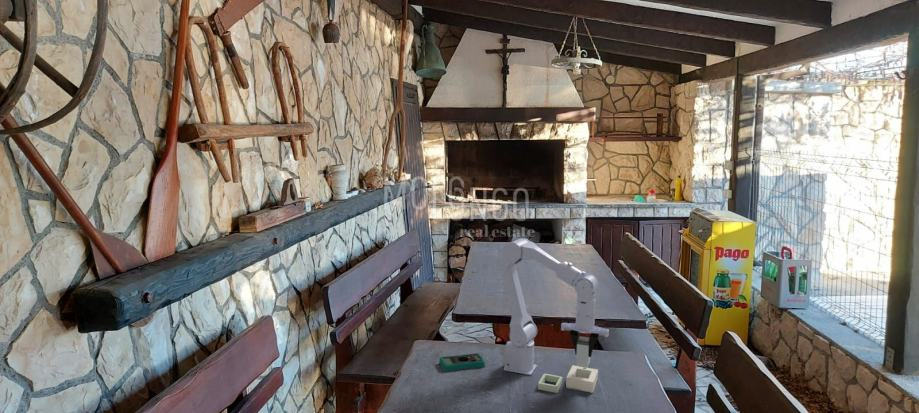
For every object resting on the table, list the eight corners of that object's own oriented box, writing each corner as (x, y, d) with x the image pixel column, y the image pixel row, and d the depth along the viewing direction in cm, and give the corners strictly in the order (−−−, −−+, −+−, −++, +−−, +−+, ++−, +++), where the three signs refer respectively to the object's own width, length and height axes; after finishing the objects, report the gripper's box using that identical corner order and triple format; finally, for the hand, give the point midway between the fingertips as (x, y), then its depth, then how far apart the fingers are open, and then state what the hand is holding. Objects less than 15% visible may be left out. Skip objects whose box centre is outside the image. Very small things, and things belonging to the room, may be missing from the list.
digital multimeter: (486, 368, 192) (486, 360, 191) (444, 373, 187) (444, 364, 187) (479, 359, 199) (479, 351, 198) (438, 364, 194) (438, 356, 194)
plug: (576, 365, 177) (577, 341, 176) (578, 359, 182) (580, 336, 181) (587, 367, 176) (588, 343, 175) (589, 361, 180) (591, 337, 179)
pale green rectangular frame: (537, 389, 176) (538, 383, 176) (543, 379, 183) (543, 373, 183) (557, 392, 174) (557, 386, 173) (562, 382, 181) (562, 376, 180)
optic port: (566, 387, 177) (566, 376, 176) (572, 375, 186) (572, 364, 185) (592, 393, 174) (593, 381, 173) (597, 379, 183) (598, 368, 182)
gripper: (559, 314, 176) (558, 355, 178) (607, 320, 170) (605, 363, 172) (564, 307, 182) (562, 347, 184) (610, 313, 177) (608, 354, 179)
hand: (583, 354), depth 178 cm, fingers closed on plug, 3 cm apart
